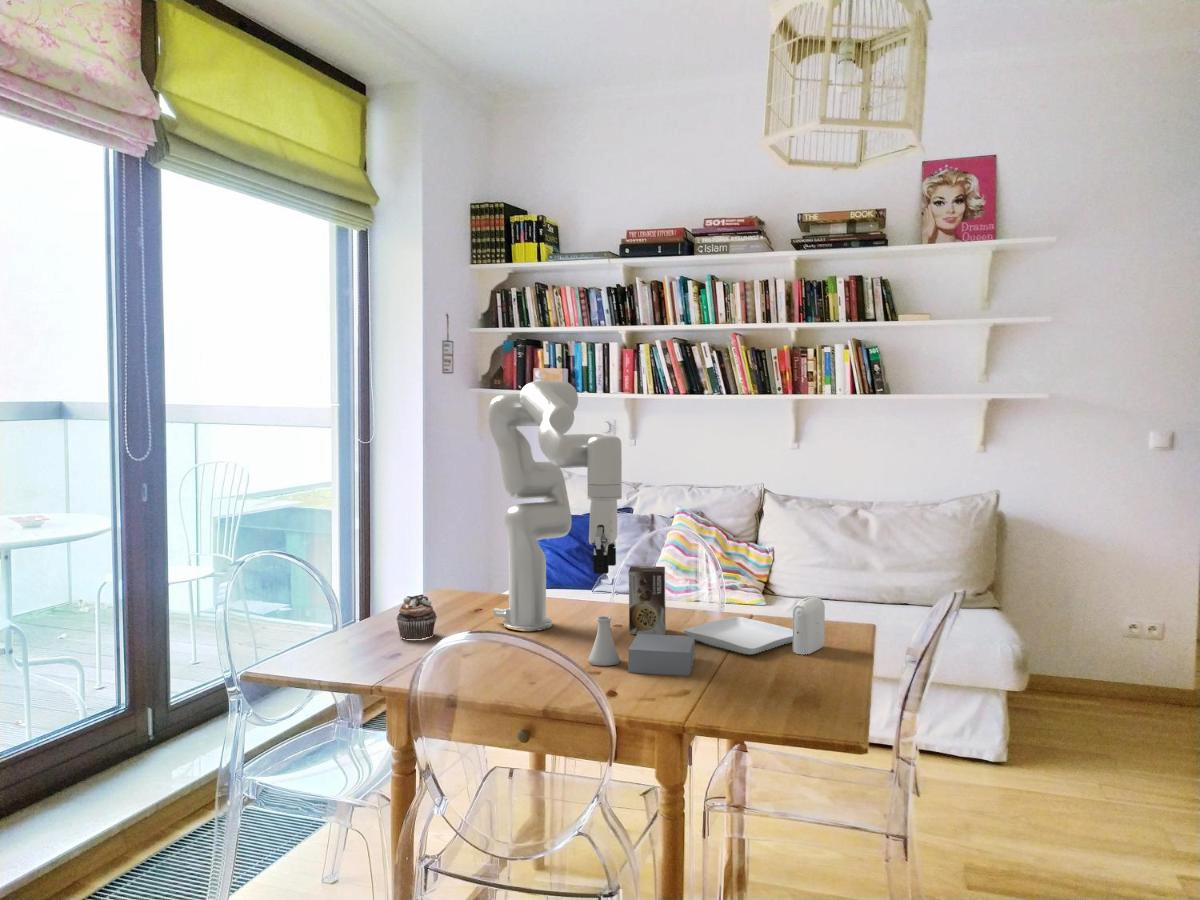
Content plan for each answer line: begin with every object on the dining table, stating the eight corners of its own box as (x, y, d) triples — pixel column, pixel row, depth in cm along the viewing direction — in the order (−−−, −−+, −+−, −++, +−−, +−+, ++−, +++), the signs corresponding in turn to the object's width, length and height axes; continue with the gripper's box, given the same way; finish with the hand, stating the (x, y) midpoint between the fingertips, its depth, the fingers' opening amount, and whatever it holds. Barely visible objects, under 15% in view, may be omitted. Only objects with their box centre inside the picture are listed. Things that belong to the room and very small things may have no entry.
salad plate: (806, 644, 212) (806, 630, 212) (752, 662, 198) (752, 647, 198) (736, 627, 228) (736, 614, 228) (680, 643, 213) (681, 629, 213)
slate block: (628, 672, 189) (628, 649, 189) (637, 655, 202) (637, 633, 202) (689, 676, 187) (689, 652, 186) (694, 658, 200) (694, 636, 199)
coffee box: (665, 629, 225) (666, 566, 224) (665, 635, 218) (665, 571, 218) (629, 628, 226) (630, 565, 225) (628, 634, 219) (628, 570, 218)
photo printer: (807, 657, 201) (807, 603, 200) (789, 653, 203) (790, 600, 203) (826, 647, 209) (827, 595, 208) (809, 644, 211) (810, 592, 211)
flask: (586, 657, 200) (586, 614, 199) (618, 657, 201) (618, 613, 200) (588, 667, 193) (589, 622, 192) (622, 666, 193) (622, 621, 193)
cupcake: (389, 636, 218) (389, 596, 218) (424, 629, 224) (424, 590, 224) (408, 644, 211) (408, 602, 210) (444, 637, 217) (443, 596, 217)
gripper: (595, 488, 204) (595, 562, 205) (579, 495, 187) (580, 576, 188) (627, 488, 203) (627, 563, 204) (615, 496, 186) (615, 577, 187)
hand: (605, 569), depth 196 cm, fingers open, 9 cm apart
